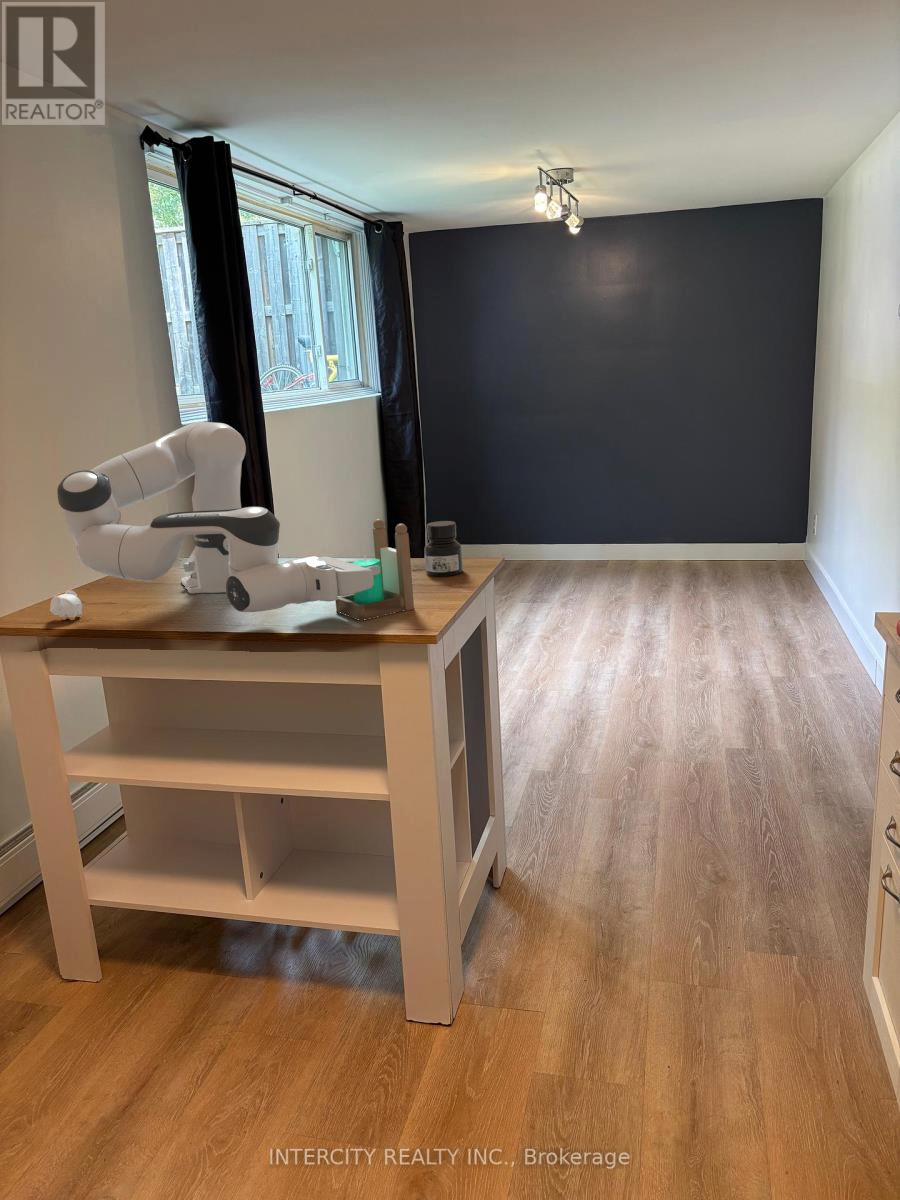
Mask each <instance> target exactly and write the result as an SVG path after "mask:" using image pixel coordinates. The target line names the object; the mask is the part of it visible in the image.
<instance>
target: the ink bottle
mask: <svg viewBox="0 0 900 1200" xmlns="http://www.w3.org/2000/svg"><path fill="white" fill-rule="evenodd" d="M426 529H427V539H428V541H429V542H427V544H426V545H425V546H424V550H423V551H424V565H425V566H424V567H425V573H426V575H428V576H430V575H431V576H432V577H450V576H451V575H452V576H455V575H458V574H461V573H462V572H463V570H464V568H463V554H462V553H463V551H462V550H463V549H462V544H461V543H459V542H458V540H456V538H457V524H456V522H455V521H452V520H439V521H433V522H432V521H431V522H430V523H427V524H426Z"/></svg>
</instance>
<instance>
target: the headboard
mask: <svg viewBox="0 0 900 1200" xmlns="http://www.w3.org/2000/svg"><path fill="white" fill-rule="evenodd" d="M372 527H373V528H372V536H373V538H372V539H373V547H374V548H373V549H374V559H379V560H380V565H381V577H382V589H383V590H386V591H389V592H392V593H395V594H398V595H401V596H404V600H405V610H407V611H410V610H409V609H411V610H414V609H415V601H414V589H413V578H412V564H411V552H410V537H409V533H408V532H407V531H408V527H407V526H406V525H405V523H399V524H398V523H397V525H396V526H395V527H394V528H395V533H394V540H395V542H394V543H395V548H394V547H393V548H392V547H388V540H387V539H388V538H387V530H386V527H385V522H384V519H381V518H377V519H374V521H373V523H372Z"/></svg>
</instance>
